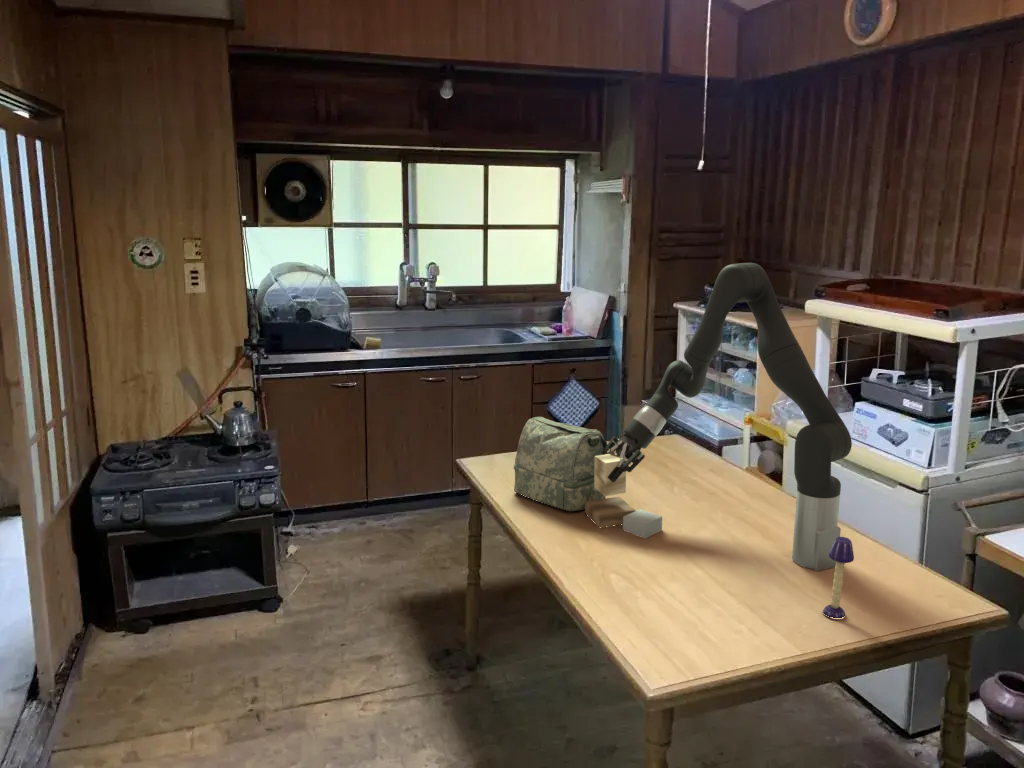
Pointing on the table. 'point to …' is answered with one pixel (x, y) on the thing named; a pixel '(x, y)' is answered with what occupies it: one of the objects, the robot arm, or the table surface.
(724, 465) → the table surface
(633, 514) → the grey block
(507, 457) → the table surface
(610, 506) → the walnut block
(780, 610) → the table surface
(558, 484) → the lunch bag
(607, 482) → the oak block
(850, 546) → the toy lamp
